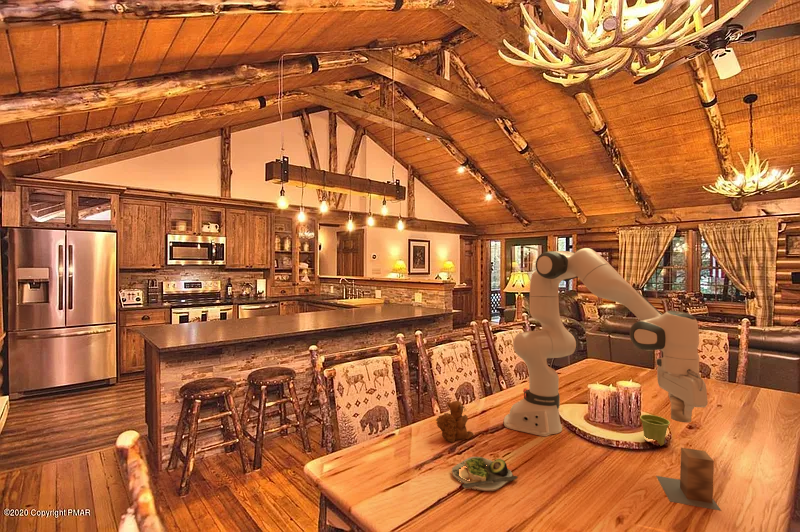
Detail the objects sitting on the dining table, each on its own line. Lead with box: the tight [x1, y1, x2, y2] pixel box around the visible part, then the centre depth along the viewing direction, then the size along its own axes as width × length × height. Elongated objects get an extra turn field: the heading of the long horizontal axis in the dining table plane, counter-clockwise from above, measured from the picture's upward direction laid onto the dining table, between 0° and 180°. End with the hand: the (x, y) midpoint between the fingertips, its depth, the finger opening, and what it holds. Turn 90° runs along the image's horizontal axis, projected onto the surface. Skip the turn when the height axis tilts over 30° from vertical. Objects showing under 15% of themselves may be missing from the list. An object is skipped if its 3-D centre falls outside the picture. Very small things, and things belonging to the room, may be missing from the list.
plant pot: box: [639, 414, 671, 447], centre depth 148 cm, size 9×9×9 cm
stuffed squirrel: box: [435, 400, 474, 443], centre depth 151 cm, size 10×14×13 cm
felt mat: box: [655, 475, 722, 512], centre depth 116 cm, size 12×14×1 cm
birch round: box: [670, 397, 692, 423], centre depth 119 cm, size 5×5×6 cm
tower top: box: [680, 447, 715, 483], centre depth 115 cm, size 6×6×6 cm
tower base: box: [679, 467, 714, 503], centre depth 115 cm, size 6×6×6 cm
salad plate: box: [451, 456, 519, 492], centre depth 123 cm, size 19×18×5 cm
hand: (680, 412), depth 119 cm, fingers closed on birch round, 5 cm apart
